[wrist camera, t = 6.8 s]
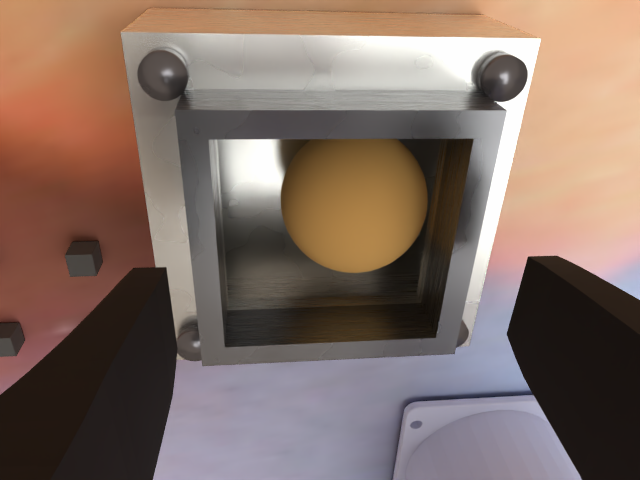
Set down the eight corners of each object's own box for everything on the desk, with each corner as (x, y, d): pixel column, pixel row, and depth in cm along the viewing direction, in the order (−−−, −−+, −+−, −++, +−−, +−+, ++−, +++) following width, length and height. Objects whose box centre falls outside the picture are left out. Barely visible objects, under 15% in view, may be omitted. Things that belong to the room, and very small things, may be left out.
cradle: (118, 336, 19) (113, 351, 18) (0, 341, 19) (-9, 357, 18) (98, 241, 17) (91, 254, 16) (-34, 244, 17) (-47, 258, 16)
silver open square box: (436, 280, 19) (486, 382, 15) (183, 289, 18) (162, 400, 14) (483, 14, 15) (575, 53, 10) (150, 7, 14) (102, 47, 10)
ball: (390, 137, 17) (483, 183, 14) (332, 245, 18) (409, 310, 15) (295, 84, 14) (385, 129, 11) (233, 214, 15) (301, 286, 12)
